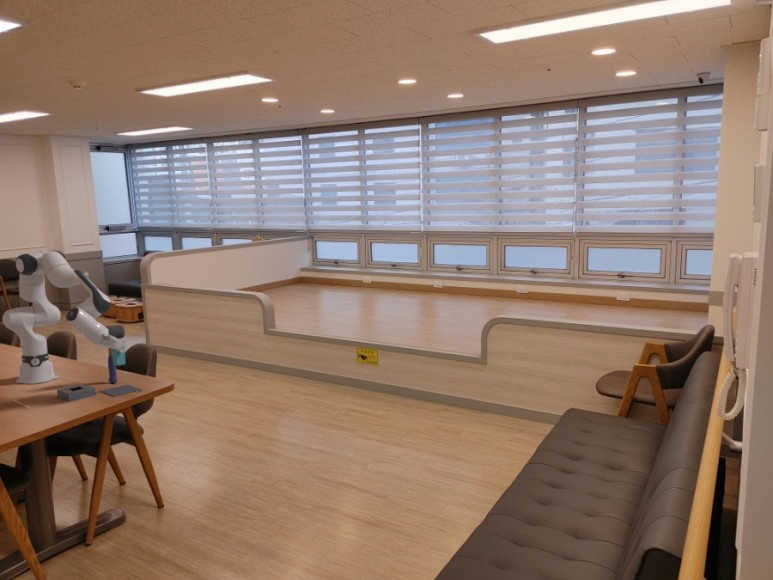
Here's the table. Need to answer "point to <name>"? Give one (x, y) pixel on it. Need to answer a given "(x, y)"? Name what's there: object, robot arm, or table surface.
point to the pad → (120, 390)
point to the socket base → (76, 392)
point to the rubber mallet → (117, 333)
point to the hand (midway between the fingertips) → (119, 350)
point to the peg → (118, 356)
